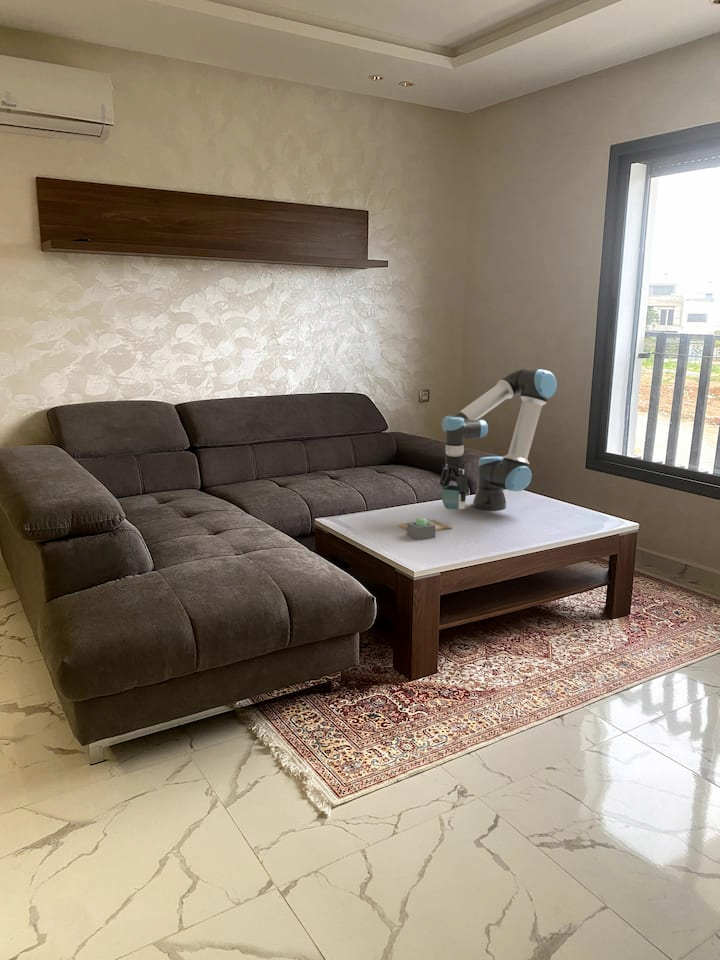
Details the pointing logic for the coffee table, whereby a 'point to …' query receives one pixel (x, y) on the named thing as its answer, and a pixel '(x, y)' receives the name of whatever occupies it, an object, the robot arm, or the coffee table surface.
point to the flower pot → (450, 496)
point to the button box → (420, 531)
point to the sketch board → (437, 524)
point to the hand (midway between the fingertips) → (453, 505)
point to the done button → (421, 521)
